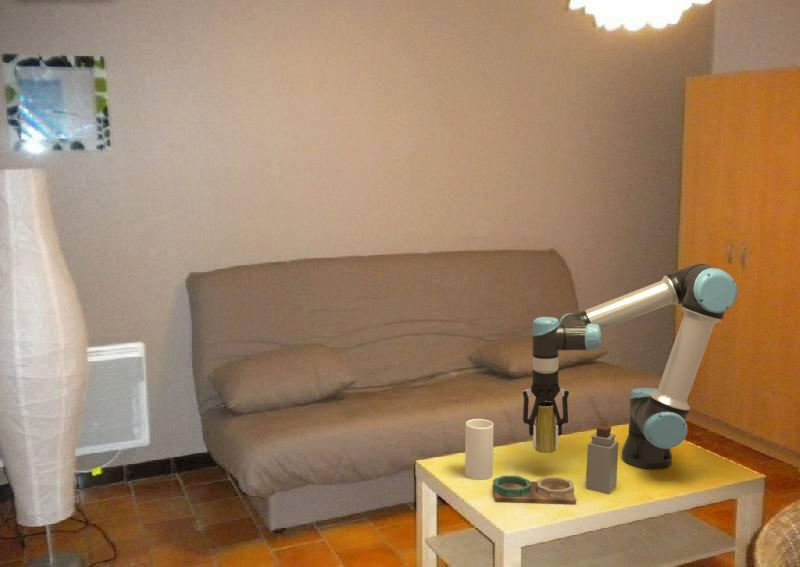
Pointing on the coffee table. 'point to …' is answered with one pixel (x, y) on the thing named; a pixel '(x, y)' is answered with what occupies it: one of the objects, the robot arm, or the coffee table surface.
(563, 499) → the board
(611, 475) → the perfume bottle
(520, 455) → the coffee table surface
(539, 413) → the vase
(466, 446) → the cup
